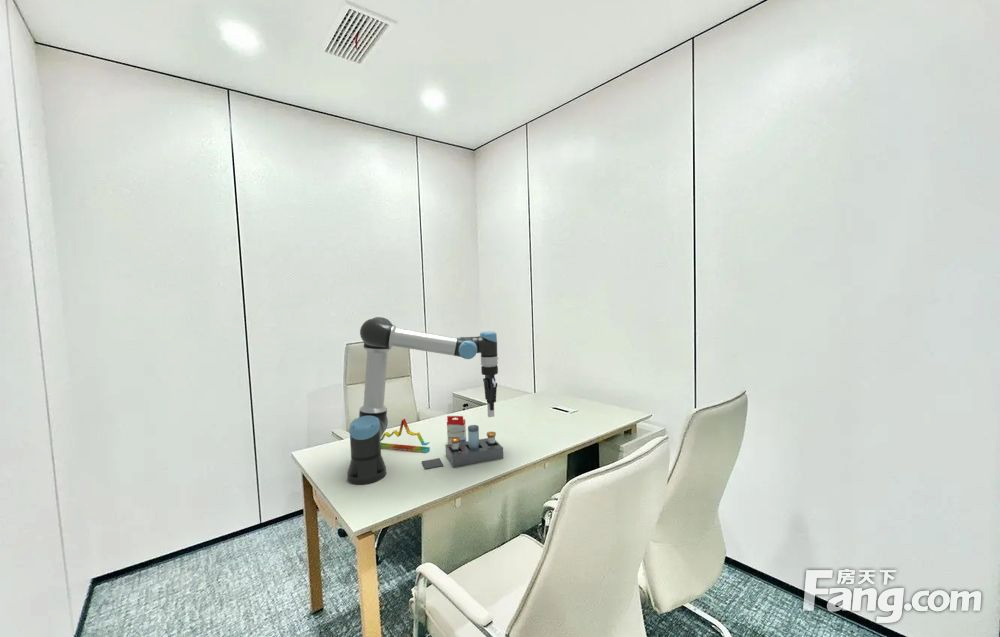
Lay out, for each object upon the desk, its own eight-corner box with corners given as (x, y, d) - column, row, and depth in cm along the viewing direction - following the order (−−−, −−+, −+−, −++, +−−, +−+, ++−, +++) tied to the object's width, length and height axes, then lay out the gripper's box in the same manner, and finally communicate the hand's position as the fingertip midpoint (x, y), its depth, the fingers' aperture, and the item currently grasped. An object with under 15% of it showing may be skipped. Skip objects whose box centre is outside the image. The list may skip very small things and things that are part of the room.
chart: (370, 448, 191) (369, 418, 190) (374, 445, 194) (372, 416, 193) (426, 453, 183) (425, 422, 182) (429, 451, 186) (428, 420, 185)
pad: (424, 469, 165) (424, 468, 165) (421, 462, 172) (421, 461, 172) (443, 466, 168) (443, 465, 168) (439, 459, 175) (439, 458, 175)
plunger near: (452, 457, 171) (451, 441, 171) (450, 454, 175) (449, 437, 175) (461, 456, 172) (461, 439, 172) (459, 452, 176) (458, 436, 176)
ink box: (466, 442, 196) (465, 413, 195) (464, 445, 191) (463, 416, 190) (449, 441, 196) (448, 413, 196) (447, 445, 192) (446, 416, 191)
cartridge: (470, 460, 174) (469, 429, 173) (467, 456, 178) (466, 425, 177) (480, 458, 175) (479, 427, 175) (477, 454, 180) (476, 424, 179)
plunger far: (488, 451, 177) (488, 435, 177) (485, 448, 181) (485, 432, 181) (497, 450, 179) (497, 433, 178) (494, 446, 182) (493, 431, 182)
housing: (453, 467, 166) (452, 456, 166) (445, 455, 179) (445, 444, 179) (503, 458, 174) (503, 447, 174) (492, 447, 187) (492, 437, 187)
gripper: (502, 367, 173) (503, 419, 174) (492, 362, 185) (493, 411, 186) (486, 368, 170) (488, 421, 172) (477, 364, 182) (478, 413, 184)
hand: (491, 416), depth 179 cm, fingers closed
